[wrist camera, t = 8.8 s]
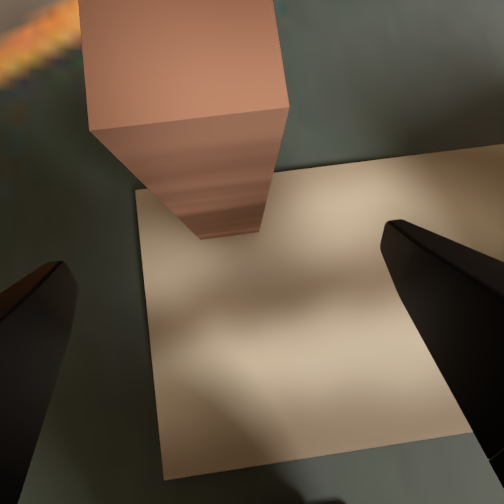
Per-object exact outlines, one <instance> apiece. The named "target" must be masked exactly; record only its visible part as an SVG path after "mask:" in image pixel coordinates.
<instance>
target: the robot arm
mask: <svg viewBox="0 0 504 504" xmlns="http://www.w3.org/2000/svg"><path fill="white" fill-rule="evenodd" d="M380 250H381V253H382V256H383V258H384V261H385V263H386V266H387V268H388V271H389V273H390V276H391V278H392V281H393V283H394V286H395V288H396V291H397V293H398V295H399V297H400V299H401V301H402V303H403V305H404V307H405V308H406V310H407V312H408V314H409V316H410V318H411V319H412V321H413V323H414V325H415V327H416V329H417V330H418V332H419V334H420V336H421V338H422V339H423V341H424V343H425V345H426V347H427V349H428V350H429V352H430V354H431V356H432V358H433V360H434V361H435V363H436V365H437V367H438V369H439V371H440V372H441V374H442V376H443V378H444V380H445V381H446V383H447V385H448V387H449V389H450V391H451V392H452V394H453V396H454V398H455V400H456V402H457V403H458V405H459V407H460V409H461V411H462V413H463V414H464V416H465V418H466V420H467V422H468V424H469V425H470V427H471V429H472V431H473V433H474V434H475V436H476V438H477V440H478V442H479V444H480V445H481V447H482V449H483V451H484V453H485V455H486V456H487V458H488V459H489V462H490V464H491V466H492V468H493V470H494V472H495V473H496V475H497V477H498V479H499V481H500V482H501V484H502V486H503V488H504V262H502V261H500V260H498V259H495V258H493V257H491V256H488V255H486V254H483V253H481V252H479V251H476V250H474V249H472V248H469V247H467V246H465V245H462V244H460V243H457V242H455V241H453V240H450V239H448V238H446V237H443V236H441V235H438V234H436V233H434V232H431V231H429V230H427V229H424V228H422V227H420V226H417V225H415V224H412V223H410V222H408V221H405V220H403V219H397V220H389V221H387V222H386V223H385V226H384V230H383V234H382V238H381V242H380ZM78 291H79V286H78V282H77V280H76V279H75V277H74V275H73V274H72V272H71V271H70V269H69V267H68V266H67V264H66V263H65V262H63V261H55V262H48V263H45V264H44V265H42V266H41V267H39V268H38V269H36V270H35V271H33V272H32V273H30V274H29V275H27V276H26V277H24V278H23V279H21V280H20V281H18V282H17V283H15V284H14V285H12V286H11V287H9V288H8V289H6V290H5V291H3V292H2V293H0V504H18V501H19V498H20V494H21V491H22V488H23V485H24V482H25V479H26V475H27V472H28V469H29V466H30V463H31V459H32V456H33V453H34V450H35V447H36V444H37V440H38V437H39V434H40V431H41V428H42V424H43V421H44V418H45V415H46V412H47V408H48V405H49V402H50V399H51V396H52V393H53V389H54V386H55V383H56V380H57V377H58V373H59V370H60V367H61V364H62V361H63V358H64V354H65V351H66V348H67V345H68V341H69V337H70V333H71V328H72V323H73V317H74V312H75V307H76V302H77V296H78Z"/></svg>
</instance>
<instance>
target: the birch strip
mask: <svg viewBox="0 0 504 504" xmlns="http://www.w3.org/2000/svg"><path fill="white" fill-rule="evenodd" d="M78 4H79V16H80V27H81V39H82V51H83V63H84V75H85V86H86V98H87V110H88V122H89V131H90V132H91V133H92V134H93V135H94V136H95V137H96V138H97V139H98V140H99V141H100V142H101V143H102V144H103V145H104V146H105V147H106V148H107V149H108V150H109V151H110V152H111V153H112V154H113V155H114V156H115V157H116V158H117V159H118V160H120V161H121V162H122V163H123V164H124V165H125V166H126V167H127V168H128V169H129V170H130V171H131V172H132V173H133V174H134V175H135V176H136V177H137V178H138V179H139V180H140V181H141V182H142V183H143V184H144V185H145V186H146V187H147V188H148V189H140V190H135V194H136V204H137V215H138V225H139V235H140V245H141V255H142V265H143V275H144V285H145V295H146V305H147V315H148V325H149V336H150V346H151V356H152V366H153V376H154V386H155V396H156V406H157V416H158V426H159V436H160V446H161V457H162V467H163V477H164V480H170V479H177V478H183V477H189V476H196V475H202V474H209V473H215V472H221V471H228V470H234V469H240V468H247V467H253V466H259V465H266V464H272V463H279V462H285V461H291V460H298V459H304V458H310V457H317V456H323V455H329V454H336V453H342V452H348V451H355V450H361V449H368V448H374V447H380V446H387V445H393V444H399V443H406V442H412V441H418V440H425V439H431V438H438V437H444V436H450V435H457V434H463V433H469V432H473V431H472V429H471V427H470V425H469V424H468V422H467V420H466V418H465V416H464V414H463V413H462V411H461V409H460V407H459V405H458V403H457V402H456V400H455V398H454V396H453V394H452V392H451V391H450V389H449V387H448V385H447V383H446V381H445V380H444V378H443V376H442V374H441V372H440V371H439V369H438V367H437V365H436V363H435V361H434V360H433V358H432V356H431V354H430V352H429V350H428V349H427V347H426V345H425V343H424V341H423V339H422V338H421V336H420V334H419V332H418V330H417V329H416V327H415V325H414V323H413V321H412V319H411V318H410V316H409V314H408V312H407V310H406V308H405V307H404V305H403V303H402V301H401V299H400V297H399V295H398V293H397V291H396V288H395V286H394V283H393V281H392V278H391V276H390V273H389V271H388V268H387V266H386V263H385V261H384V258H383V256H382V253H381V250H380V242H381V238H382V234H383V230H384V226H385V223H386V222H387V221H389V220H397V219H403V220H405V221H408V222H410V223H412V224H415V225H417V226H420V227H422V228H424V229H427V230H429V231H431V232H434V233H436V234H438V235H441V236H443V237H446V238H448V239H450V240H453V241H455V242H457V243H460V244H462V245H465V246H467V247H469V248H472V249H474V250H476V251H479V252H481V253H483V254H486V255H488V256H491V257H493V258H495V259H498V260H500V261H502V262H504V144H499V145H491V146H483V147H475V148H467V149H459V150H451V151H443V152H435V153H427V154H419V155H411V156H403V157H395V158H387V159H379V160H371V161H363V162H355V163H347V164H339V165H331V166H323V167H315V168H307V169H299V170H291V171H283V172H275V173H274V169H275V164H276V160H277V156H278V152H279V148H280V144H281V140H282V136H283V132H284V127H285V123H286V119H287V115H288V111H289V101H288V95H287V88H286V82H285V76H284V69H283V63H282V57H281V50H280V44H279V38H278V31H277V25H276V19H275V12H274V6H273V0H78Z"/></svg>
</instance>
